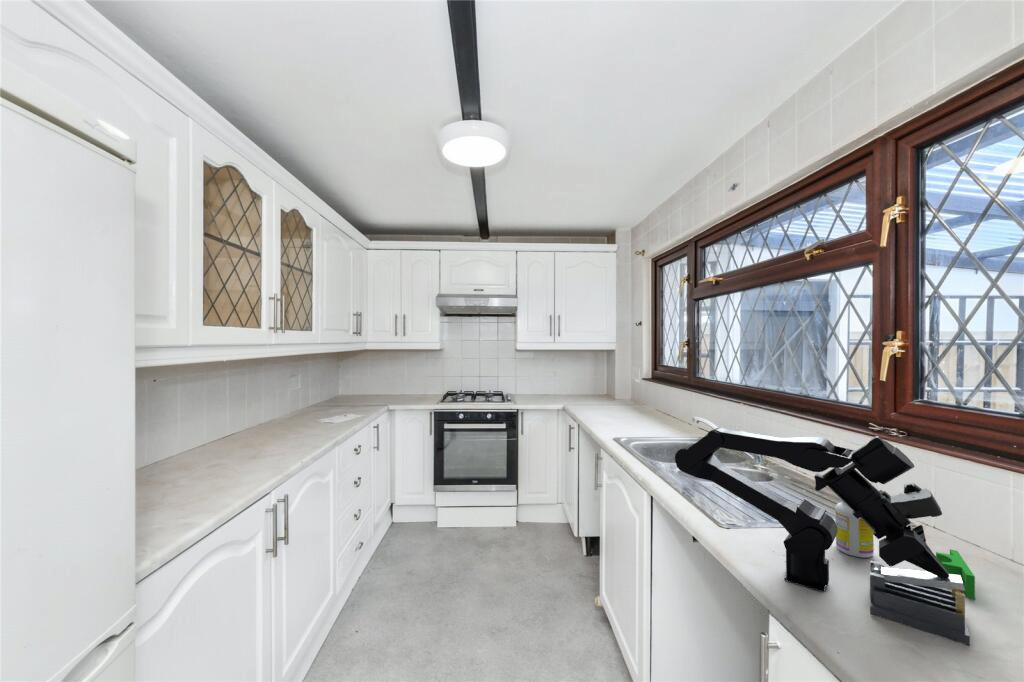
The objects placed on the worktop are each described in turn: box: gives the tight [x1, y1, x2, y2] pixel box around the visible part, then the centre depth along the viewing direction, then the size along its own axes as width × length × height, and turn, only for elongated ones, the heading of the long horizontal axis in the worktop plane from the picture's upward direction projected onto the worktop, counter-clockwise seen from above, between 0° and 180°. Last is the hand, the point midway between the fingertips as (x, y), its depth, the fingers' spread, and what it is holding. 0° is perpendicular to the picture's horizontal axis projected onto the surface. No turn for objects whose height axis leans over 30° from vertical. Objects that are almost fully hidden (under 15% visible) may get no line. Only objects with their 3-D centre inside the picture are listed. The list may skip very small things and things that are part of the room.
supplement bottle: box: [834, 498, 875, 559], centre depth 96 cm, size 7×7×13 cm
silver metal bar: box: [870, 564, 965, 592], centre depth 74 cm, size 12×4×2 cm, turn 49°
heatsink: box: [869, 560, 971, 646], centre depth 74 cm, size 12×10×7 cm
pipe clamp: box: [935, 548, 976, 601], centre depth 84 cm, size 11×4×5 cm, turn 145°
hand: (946, 577), depth 72 cm, fingers closed, pressing on silver metal bar
